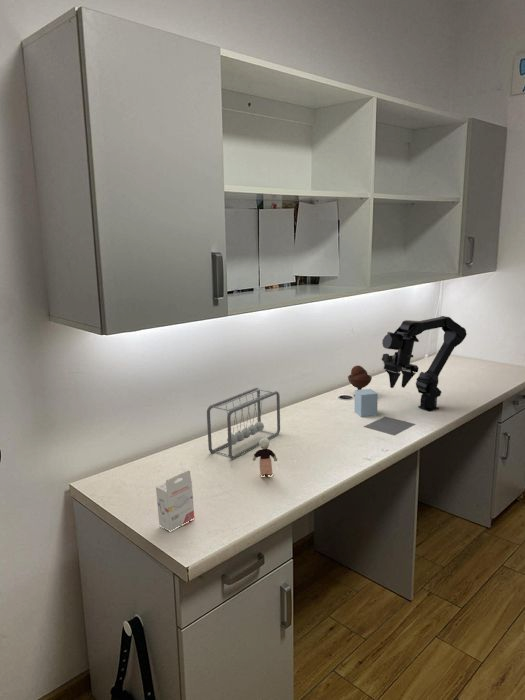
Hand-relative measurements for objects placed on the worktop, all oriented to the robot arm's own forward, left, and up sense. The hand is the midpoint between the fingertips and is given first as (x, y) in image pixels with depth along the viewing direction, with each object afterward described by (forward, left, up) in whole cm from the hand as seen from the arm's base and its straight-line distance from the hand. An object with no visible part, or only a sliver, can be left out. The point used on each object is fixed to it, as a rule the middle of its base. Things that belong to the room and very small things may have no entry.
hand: (397, 387), depth 218 cm
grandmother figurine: (+75, +22, -12) cm, 79 cm away
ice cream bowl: (-3, -29, -12) cm, 31 cm away
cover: (+11, -7, -12) cm, 17 cm away
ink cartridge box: (+109, +35, -12) cm, 115 cm away
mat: (+12, +9, -12) cm, 19 cm away
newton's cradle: (+68, -5, -12) cm, 70 cm away
